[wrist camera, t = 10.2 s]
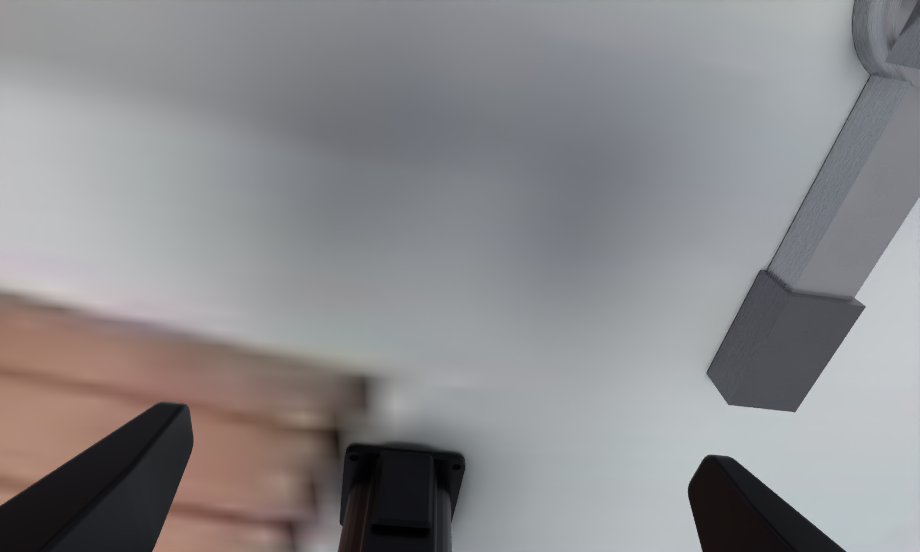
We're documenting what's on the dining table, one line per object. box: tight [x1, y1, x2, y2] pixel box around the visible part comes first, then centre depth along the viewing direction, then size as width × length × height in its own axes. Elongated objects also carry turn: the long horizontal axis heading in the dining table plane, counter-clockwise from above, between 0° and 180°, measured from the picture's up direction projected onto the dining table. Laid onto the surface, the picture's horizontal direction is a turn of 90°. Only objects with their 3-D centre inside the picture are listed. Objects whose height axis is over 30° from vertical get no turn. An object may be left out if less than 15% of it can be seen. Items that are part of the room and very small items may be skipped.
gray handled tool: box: [707, 0, 920, 412], centre depth 18 cm, size 21×7×6 cm, turn 171°
